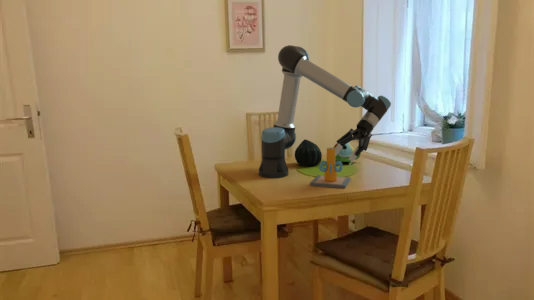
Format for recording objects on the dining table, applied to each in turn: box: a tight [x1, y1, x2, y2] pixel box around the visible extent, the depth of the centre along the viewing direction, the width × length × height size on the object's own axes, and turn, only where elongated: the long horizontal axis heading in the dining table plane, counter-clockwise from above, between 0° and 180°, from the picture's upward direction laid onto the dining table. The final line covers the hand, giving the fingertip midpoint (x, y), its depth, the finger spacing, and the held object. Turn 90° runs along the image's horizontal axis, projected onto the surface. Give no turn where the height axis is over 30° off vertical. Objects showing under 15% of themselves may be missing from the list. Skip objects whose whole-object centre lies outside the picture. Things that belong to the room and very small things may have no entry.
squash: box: [294, 139, 323, 167], centre depth 237 cm, size 14×15×15 cm
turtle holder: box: [332, 142, 363, 165], centre depth 242 cm, size 12×18×12 cm
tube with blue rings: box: [318, 147, 343, 181], centre depth 196 cm, size 12×10×15 cm
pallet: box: [309, 175, 352, 189], centre depth 198 cm, size 16×16×1 cm
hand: (341, 158), depth 198 cm, fingers open, 13 cm apart
